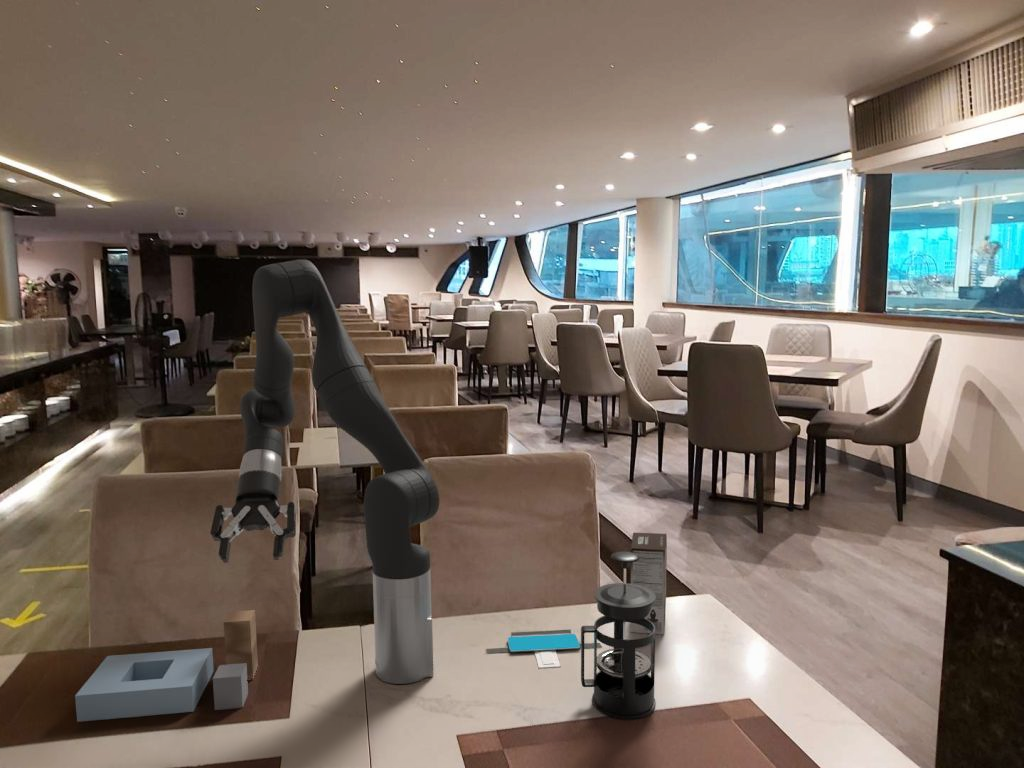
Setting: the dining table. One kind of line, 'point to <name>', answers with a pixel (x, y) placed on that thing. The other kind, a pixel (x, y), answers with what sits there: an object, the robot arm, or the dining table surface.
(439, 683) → the dining table surface
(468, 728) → the dining table surface
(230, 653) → the walnut pin
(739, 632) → the dining table surface
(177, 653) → the blue-grey flat frame
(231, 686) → the grey upright block
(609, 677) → the french press
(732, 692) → the dining table surface
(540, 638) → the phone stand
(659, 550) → the coffee box
